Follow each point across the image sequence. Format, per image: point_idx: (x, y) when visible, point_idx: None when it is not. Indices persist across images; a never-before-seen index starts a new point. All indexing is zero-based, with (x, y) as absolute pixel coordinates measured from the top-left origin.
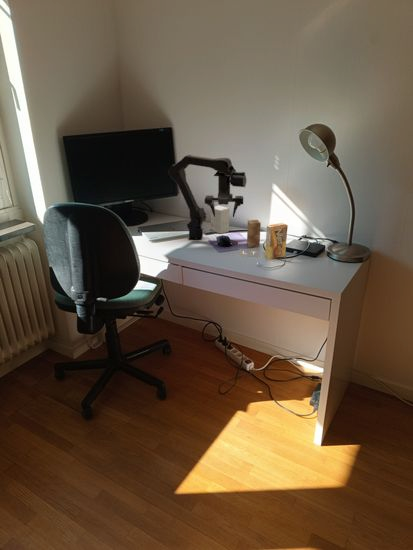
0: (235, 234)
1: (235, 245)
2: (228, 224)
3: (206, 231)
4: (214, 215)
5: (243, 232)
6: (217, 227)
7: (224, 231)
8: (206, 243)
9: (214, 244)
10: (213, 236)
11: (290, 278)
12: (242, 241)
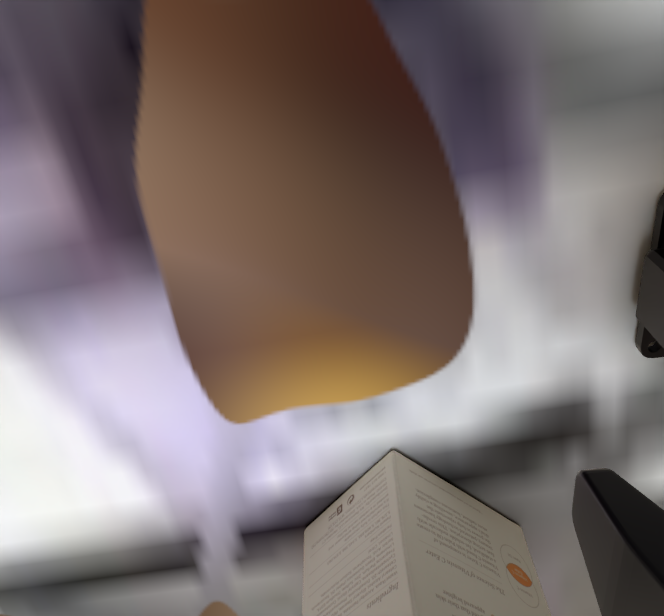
0: (204, 463)
1: (67, 63)
2: (308, 603)
3: None
4: (623, 500)
5: (131, 527)
6: (448, 529)
7: (350, 498)
8: (566, 63)
9: (426, 41)
10: (475, 360)
11: None
12: (28, 255)
